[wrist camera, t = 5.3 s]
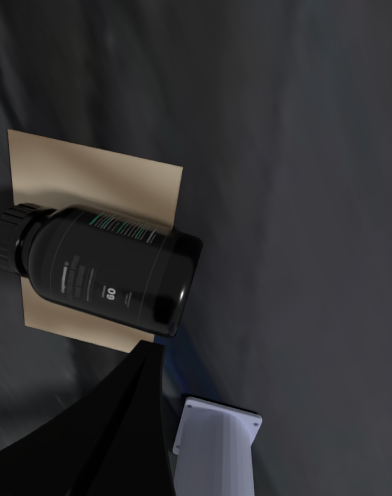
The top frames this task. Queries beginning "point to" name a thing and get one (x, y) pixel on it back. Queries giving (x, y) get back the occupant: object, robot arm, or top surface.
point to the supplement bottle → (102, 263)
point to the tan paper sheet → (93, 193)
